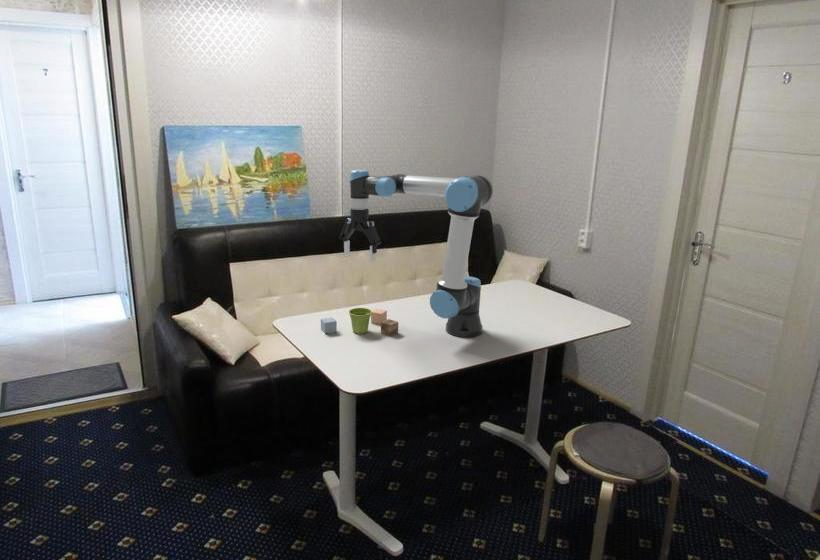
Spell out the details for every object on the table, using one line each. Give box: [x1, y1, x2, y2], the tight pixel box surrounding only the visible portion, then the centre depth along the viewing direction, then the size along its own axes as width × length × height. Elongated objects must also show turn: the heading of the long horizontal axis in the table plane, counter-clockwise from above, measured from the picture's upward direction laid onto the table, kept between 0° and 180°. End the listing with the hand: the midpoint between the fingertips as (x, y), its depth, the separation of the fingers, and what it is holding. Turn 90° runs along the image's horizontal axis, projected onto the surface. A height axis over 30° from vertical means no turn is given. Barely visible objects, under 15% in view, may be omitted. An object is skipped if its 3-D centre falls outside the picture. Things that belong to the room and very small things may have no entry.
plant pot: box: [348, 307, 373, 335], centre depth 237 cm, size 9×9×9 cm
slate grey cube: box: [320, 317, 338, 335], centre depth 237 cm, size 5×5×5 cm
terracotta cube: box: [370, 308, 388, 326], centre depth 249 cm, size 5×5×5 cm
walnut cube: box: [380, 318, 399, 337], centre depth 236 cm, size 5×5×5 cm
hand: (359, 258), depth 246 cm, fingers open, 13 cm apart
